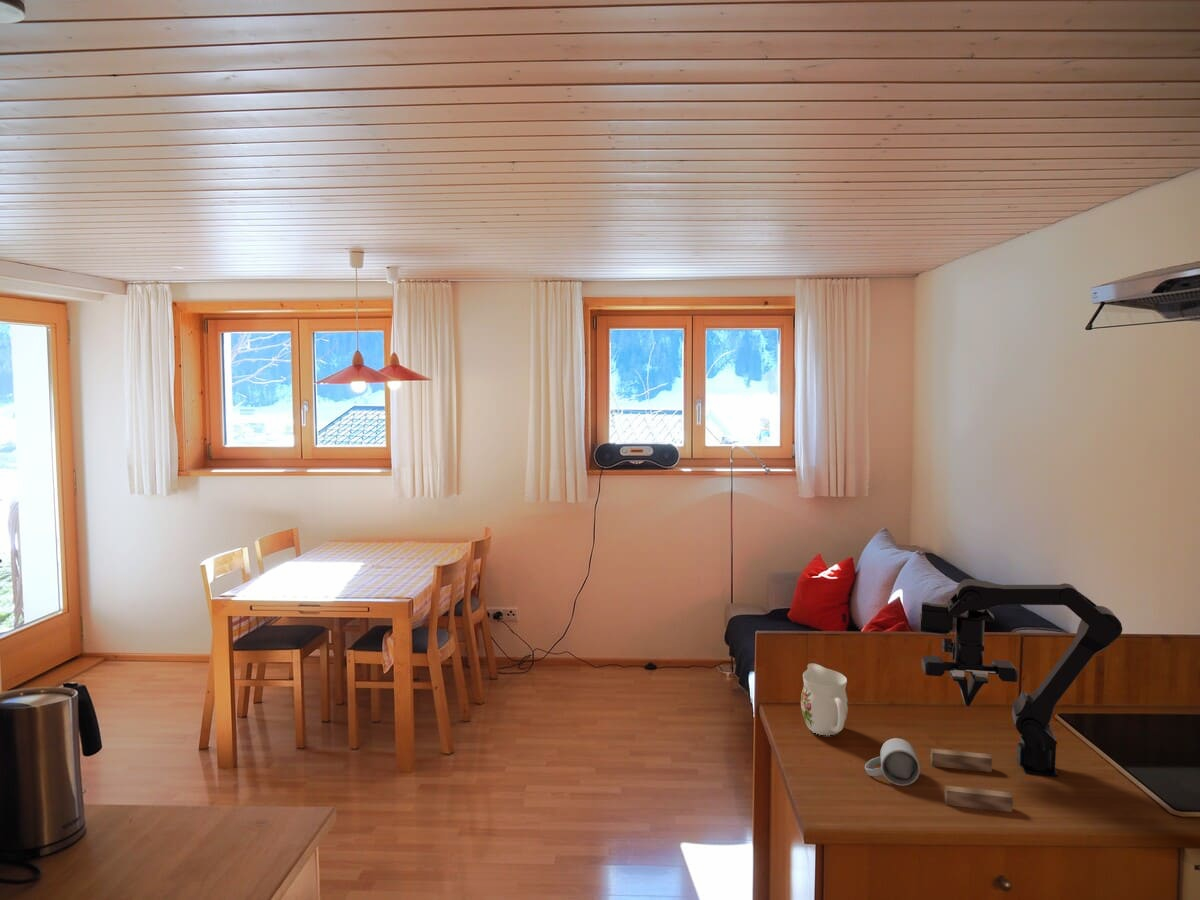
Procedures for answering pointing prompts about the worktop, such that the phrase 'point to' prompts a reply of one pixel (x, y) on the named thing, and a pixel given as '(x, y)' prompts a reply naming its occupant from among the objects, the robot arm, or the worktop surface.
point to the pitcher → (824, 700)
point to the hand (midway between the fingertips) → (967, 705)
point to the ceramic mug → (896, 763)
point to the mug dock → (970, 795)
